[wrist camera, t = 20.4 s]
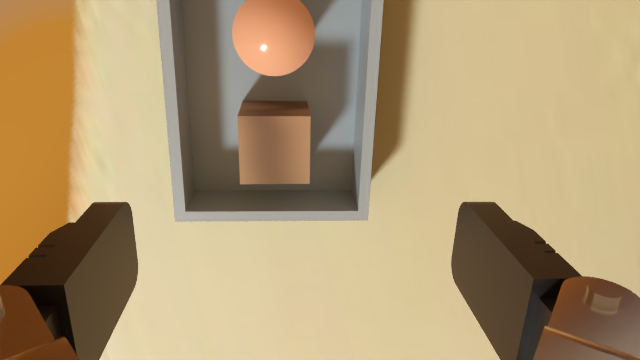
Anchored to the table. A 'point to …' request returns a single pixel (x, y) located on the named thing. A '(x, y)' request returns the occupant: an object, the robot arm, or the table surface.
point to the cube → (274, 142)
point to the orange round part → (273, 35)
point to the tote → (248, 85)
